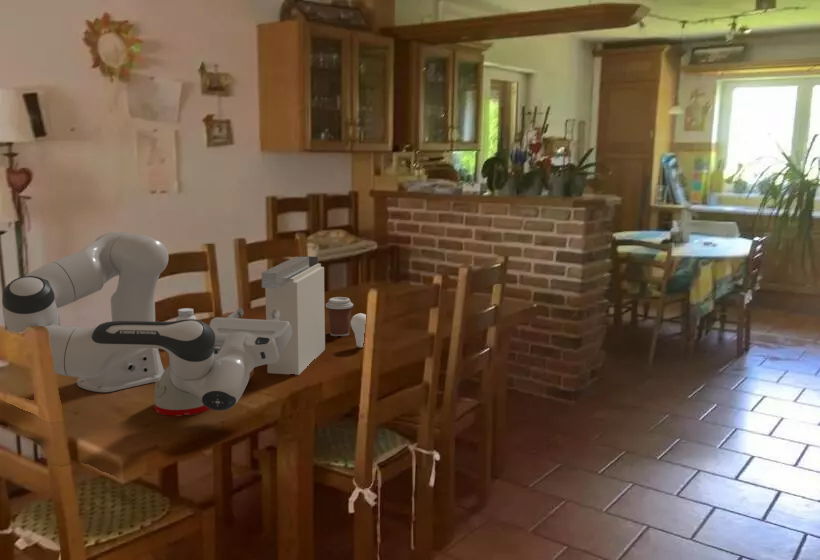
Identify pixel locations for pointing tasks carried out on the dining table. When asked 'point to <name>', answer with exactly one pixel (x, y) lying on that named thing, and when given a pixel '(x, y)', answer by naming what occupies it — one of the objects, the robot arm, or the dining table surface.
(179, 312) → the pill bottle
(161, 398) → the kitchen timer
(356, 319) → the lightbulb
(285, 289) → the stand
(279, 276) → the brushed metal bar
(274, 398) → the dining table surface
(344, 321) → the coffee cup
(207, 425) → the dining table surface
